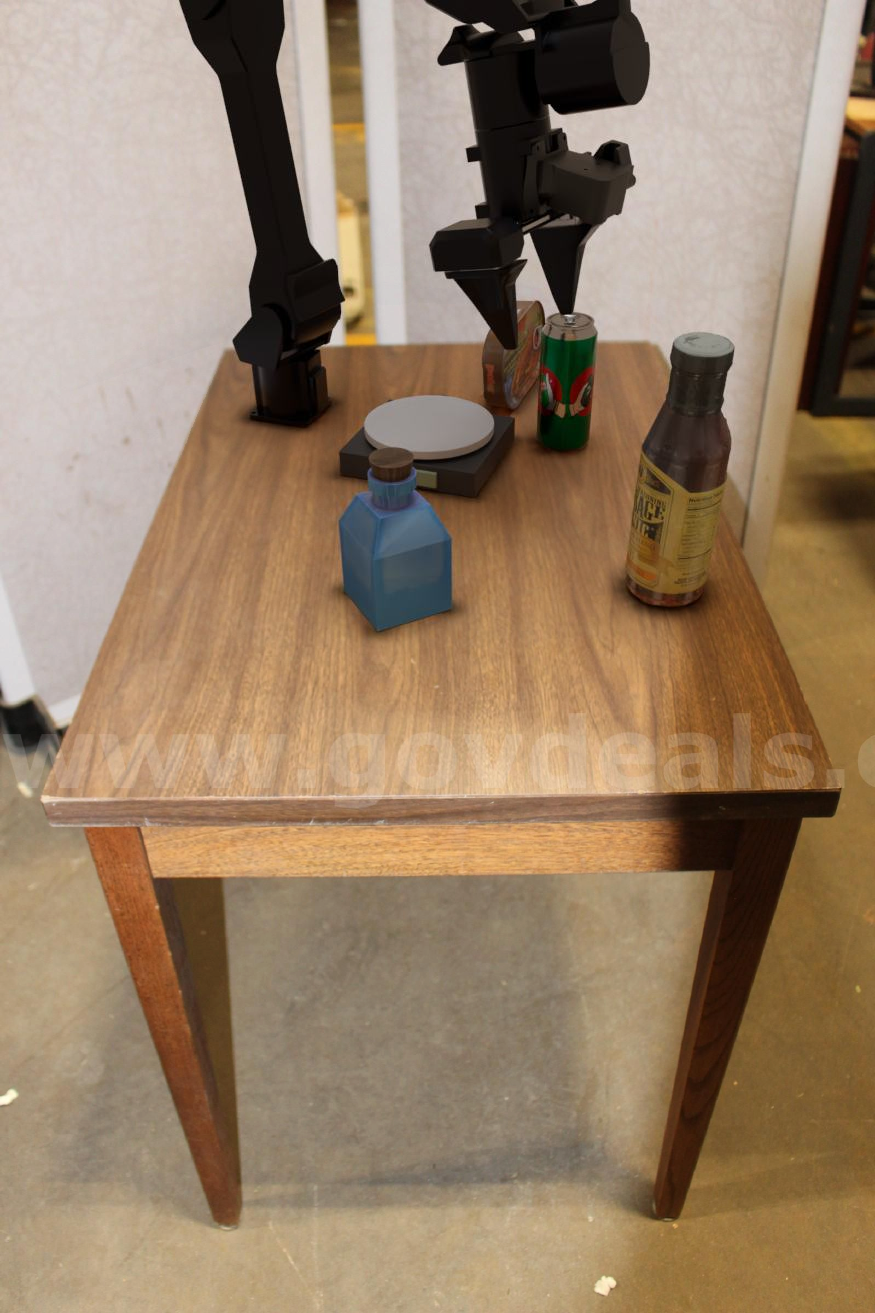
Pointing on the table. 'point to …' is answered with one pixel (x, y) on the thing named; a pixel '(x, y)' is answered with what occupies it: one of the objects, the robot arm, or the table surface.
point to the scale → (434, 441)
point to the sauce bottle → (682, 476)
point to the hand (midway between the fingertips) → (540, 331)
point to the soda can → (566, 381)
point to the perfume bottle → (395, 546)
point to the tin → (514, 359)
